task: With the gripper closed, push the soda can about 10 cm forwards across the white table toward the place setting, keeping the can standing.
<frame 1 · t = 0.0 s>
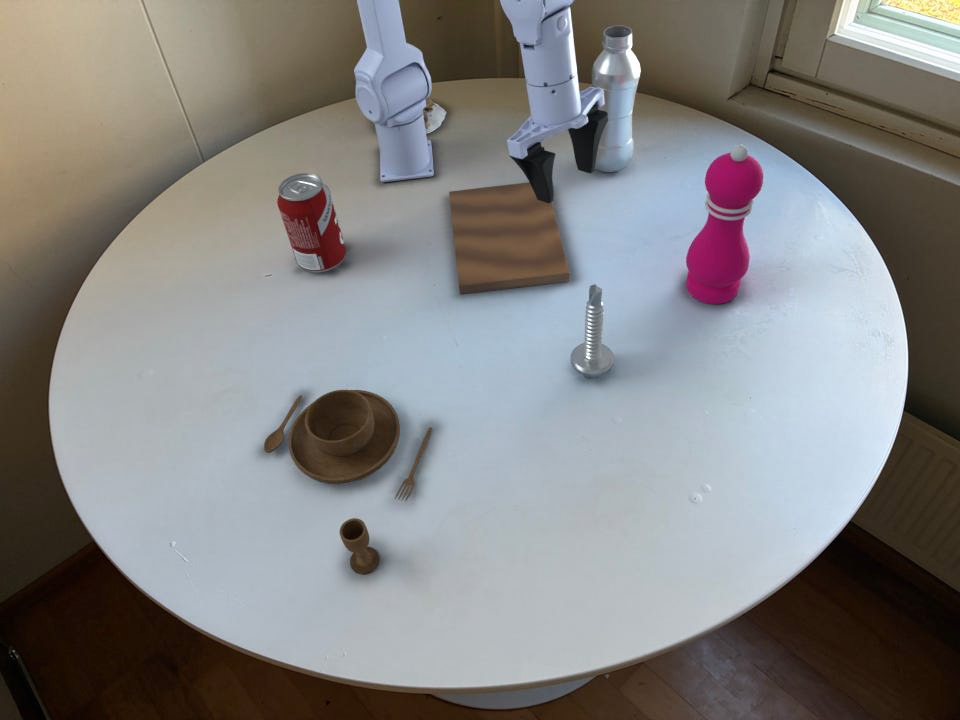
hand: (566, 185, 93), 11 cm above the table, tool pointing down, fingers open, 7 cm apart
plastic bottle: (609, 166, 113), on the table
soda can: (322, 260, 104), on the table
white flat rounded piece: (411, 120, 126), on the table
pepper mill: (711, 288, 94), on the table
cutting board: (505, 238, 104), on the table
screw: (591, 371, 87), on the table
place setting: (335, 474, 80), on the table
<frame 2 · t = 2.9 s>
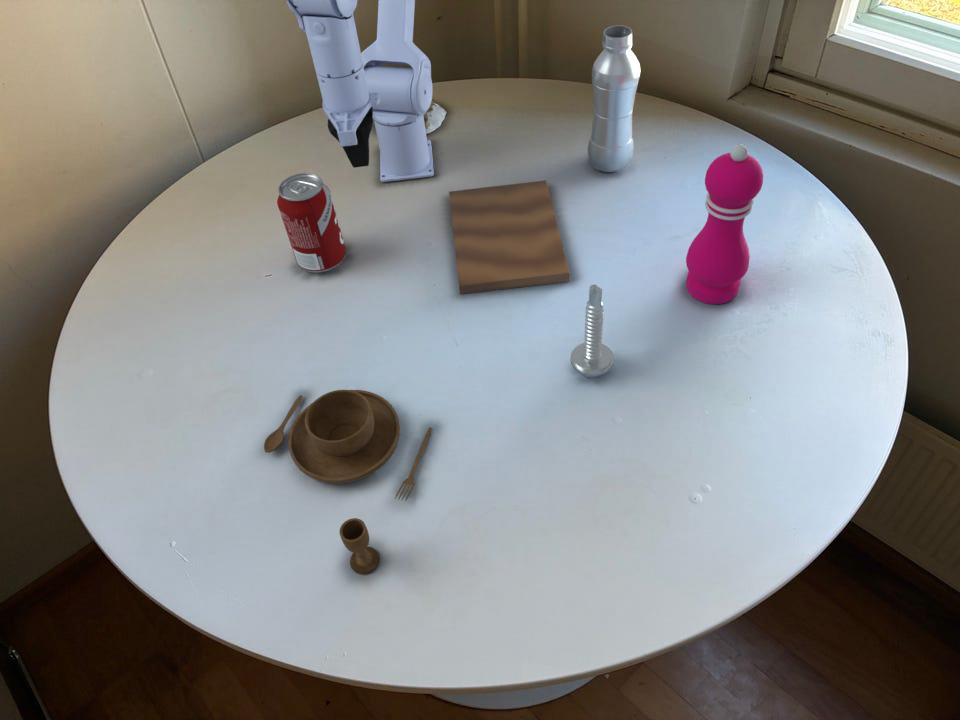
hand: (360, 163, 101), 9 cm above the table, tool pointing down, fingers closed
nothing on the table moved.
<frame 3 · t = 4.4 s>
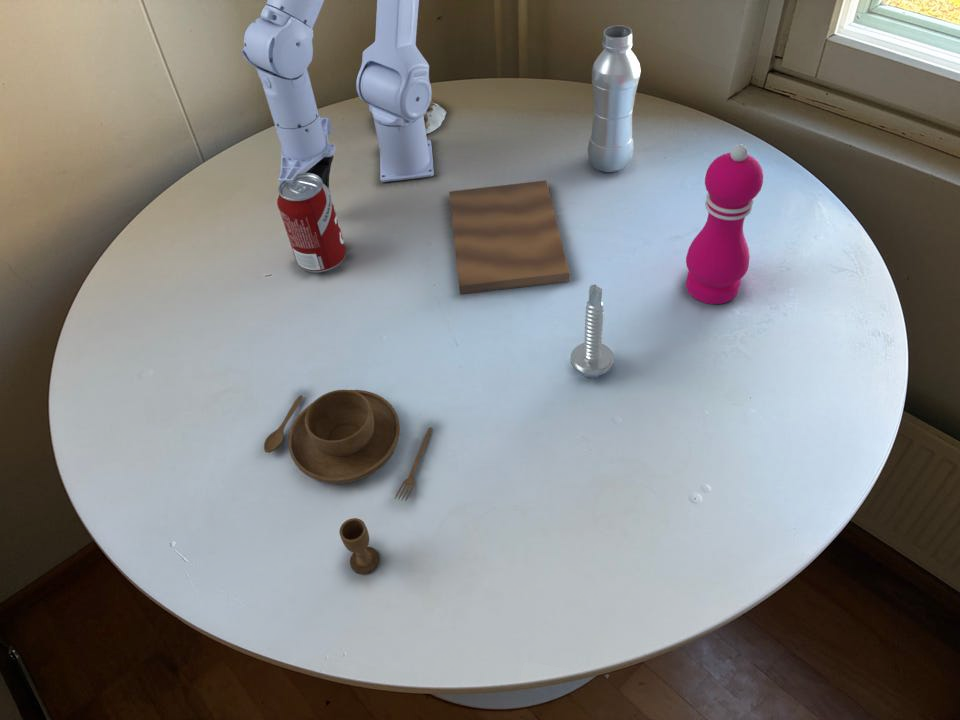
hand: (320, 204, 107), 3 cm above the table, tool pointing down, fingers closed
nothing on the table moved.
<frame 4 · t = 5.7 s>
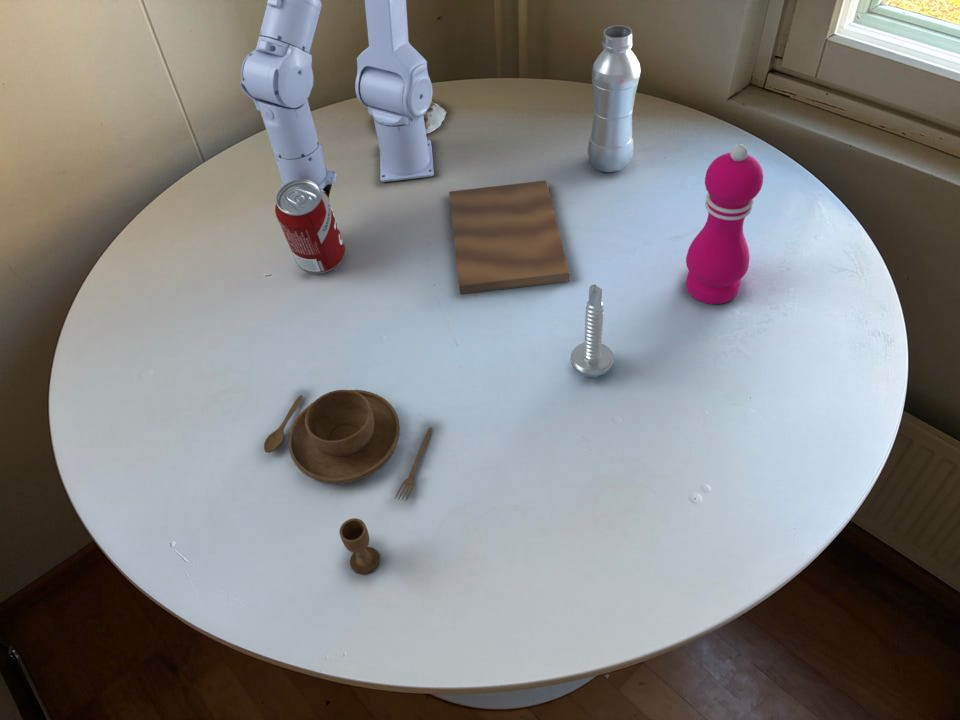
hand: (320, 233, 105), 2 cm above the table, tool pointing down, fingers closed, pressing on soda can
soda can: (321, 256, 103), point 1 cm above the table, touching gripper
everything else where it was.
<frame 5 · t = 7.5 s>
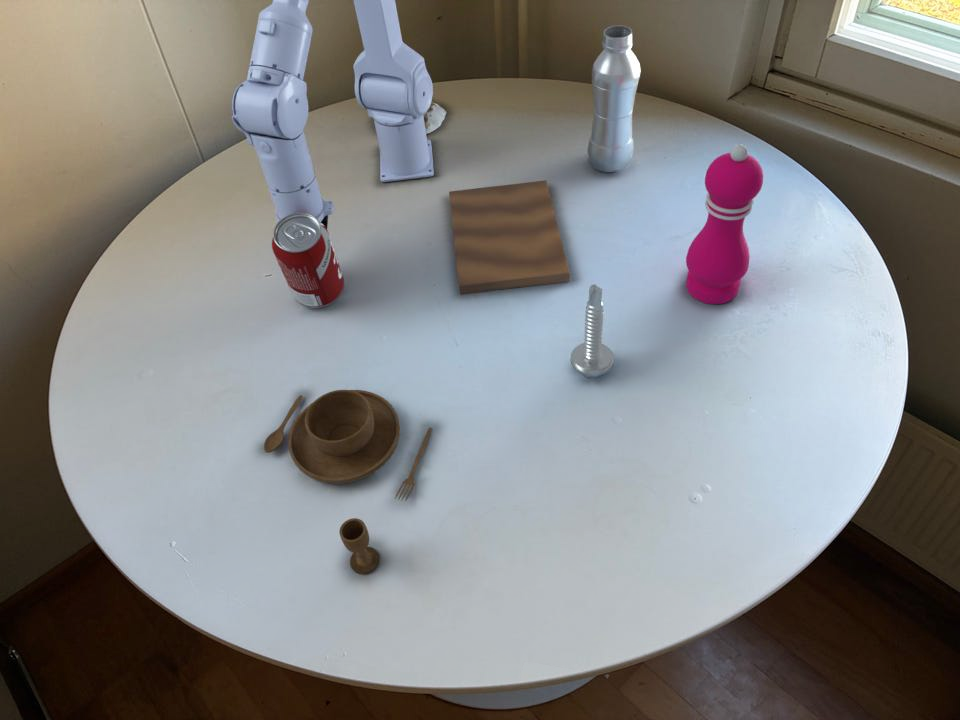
hand: (317, 265, 100), 2 cm above the table, tool pointing down, fingers closed, pressing on soda can
soda can: (319, 289, 99), point 1 cm above the table, touching gripper
everything else where it was.
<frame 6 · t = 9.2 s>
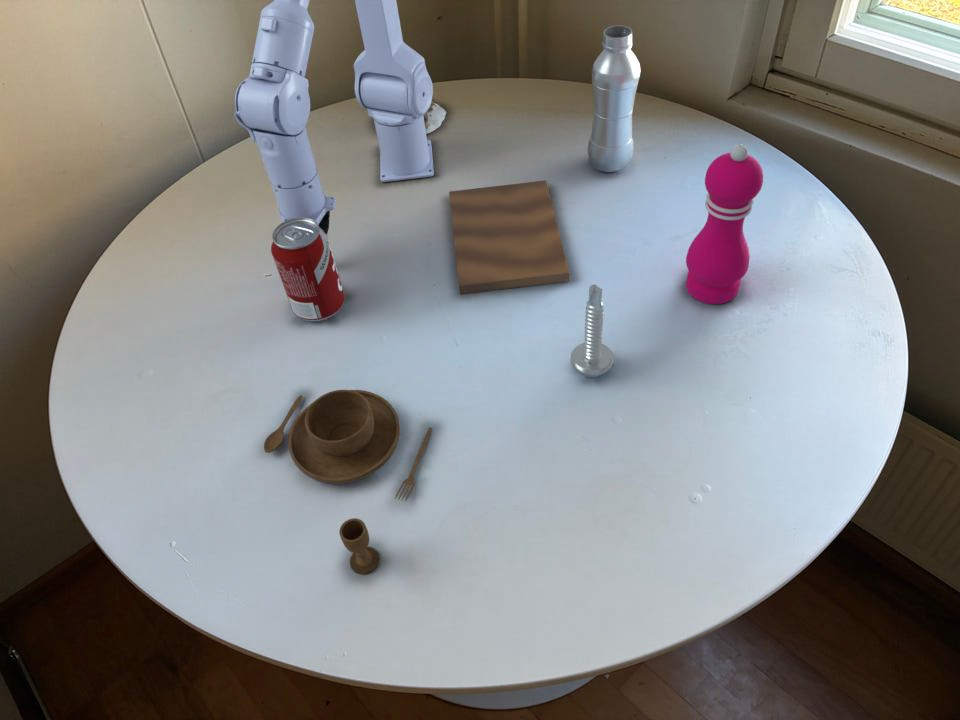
hand: (319, 261, 101), 1 cm above the table, tool pointing down, fingers closed
soda can: (320, 307, 98), on the table
everything else where it was.
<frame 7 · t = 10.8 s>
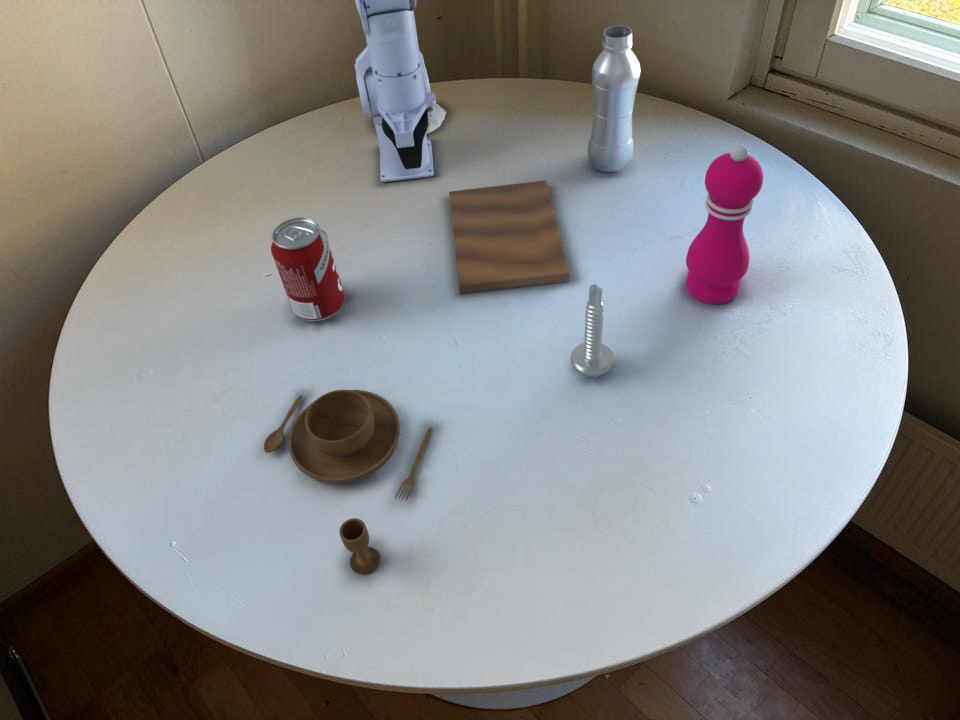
hand: (412, 165, 99), 10 cm above the table, tool pointing down, fingers closed
nothing on the table moved.
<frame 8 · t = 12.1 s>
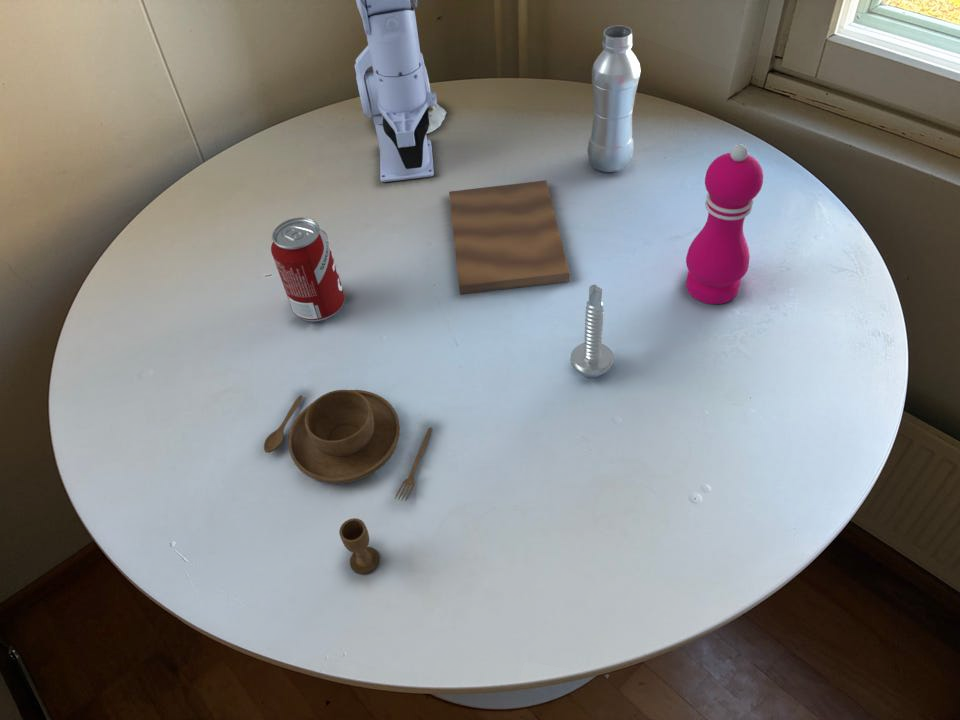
hand: (413, 165, 99), 10 cm above the table, tool pointing down, fingers closed
nothing on the table moved.
at the end: soda can inside the target area on the table beside the place setting (0.9 cm from its centre), on the table; soda can moved 9.2 cm from its start; soda can tilted 0° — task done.
